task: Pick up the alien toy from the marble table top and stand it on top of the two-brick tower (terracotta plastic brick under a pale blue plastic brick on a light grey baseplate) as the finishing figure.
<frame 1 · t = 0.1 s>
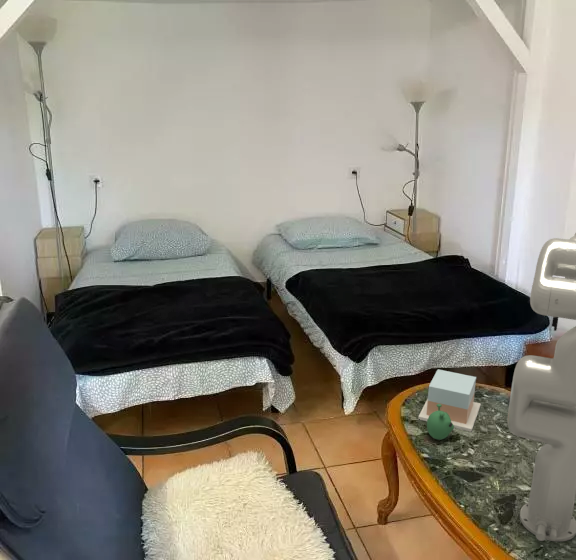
hand: (573, 332, 171), 31 cm above the table, fingers open, 9 cm apart
brick tower: (449, 412, 189), on the table
alien toy: (439, 438, 176), on the table
alarm clock: (521, 427, 181), on the table
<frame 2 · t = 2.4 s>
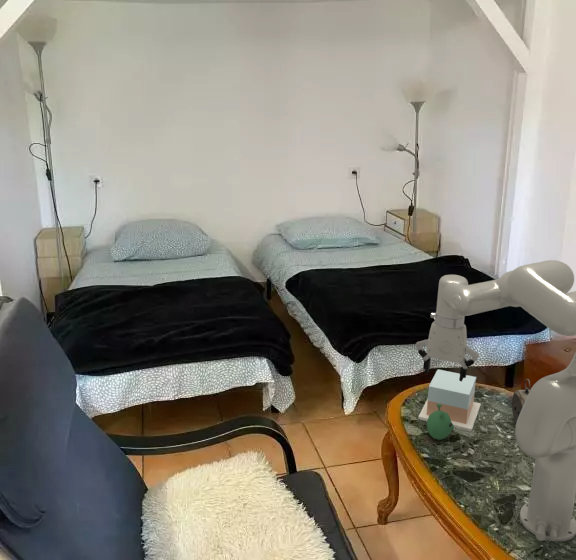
hand: (444, 375, 169), 20 cm above the table, fingers open, 9 cm apart
nothing on the table moved.
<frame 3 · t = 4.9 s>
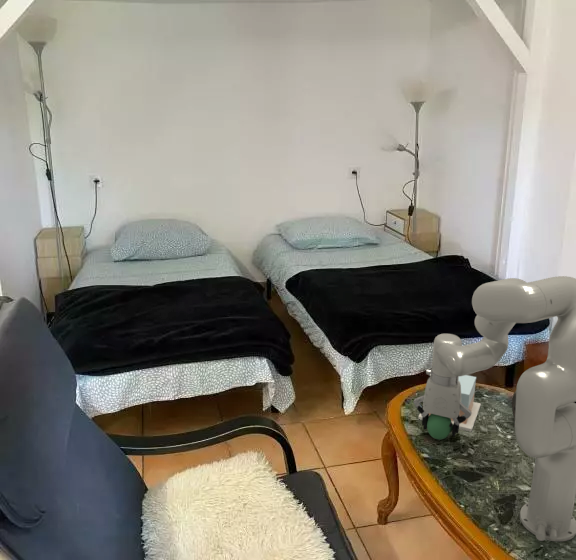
hand: (439, 430, 175), 2 cm above the table, fingers closed on alien toy, 7 cm apart
alien toy: (439, 438, 176), on the table, touching gripper
everything else where it was.
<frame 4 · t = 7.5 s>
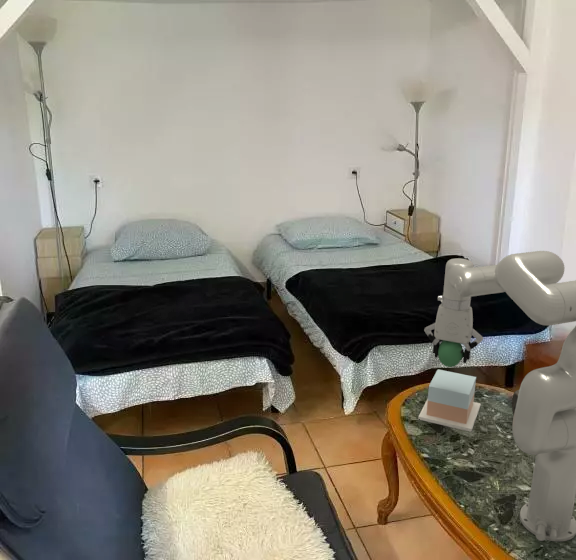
hand: (450, 358, 175), 22 cm above the table, fingers closed on alien toy, 7 cm apart
alien toy: (450, 366, 176), point 20 cm above the table, touching gripper
everything else where it was.
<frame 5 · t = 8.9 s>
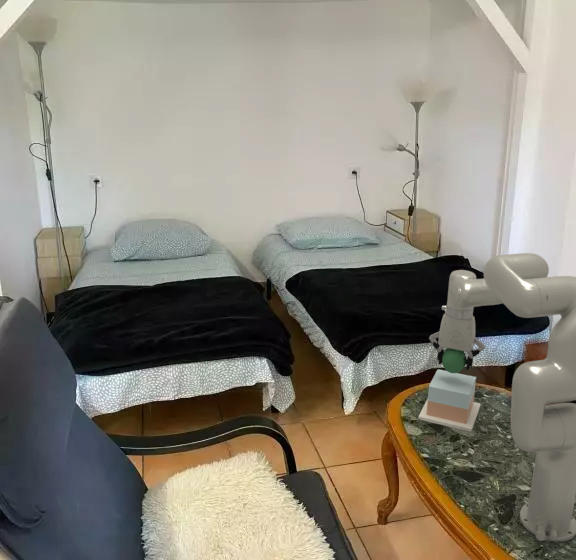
hand: (454, 365, 183), 17 cm above the table, fingers closed on alien toy, 7 cm apart
alien toy: (453, 372, 184), point 14 cm above the table, touching gripper
everything else where it was.
when the fingers open (15 cm above the table, at t = 10.2 s): alien toy drops 1 cm, resting on brick tower.
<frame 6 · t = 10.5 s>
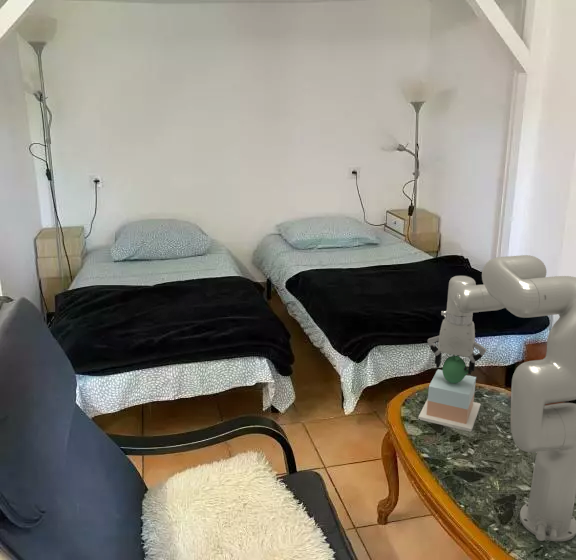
hand: (454, 369, 184), 15 cm above the table, fingers open, 9 cm apart
alien toy: (454, 382, 185), point 11 cm above the table, touching brick tower
everything else where it was.
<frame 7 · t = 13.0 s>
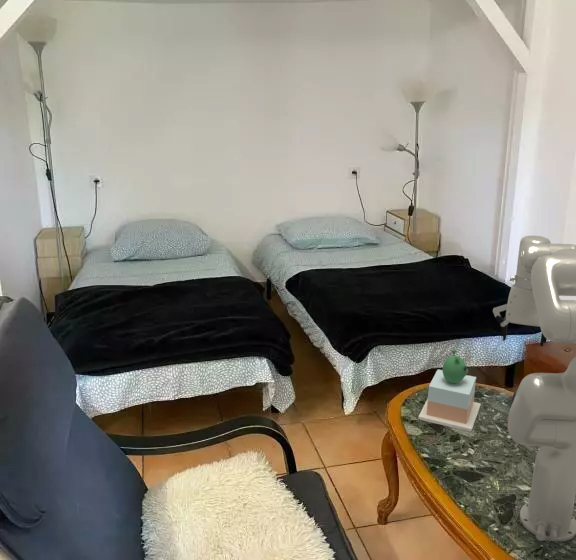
hand: (522, 341, 165), 31 cm above the table, fingers open, 9 cm apart
nothing on the table moved.
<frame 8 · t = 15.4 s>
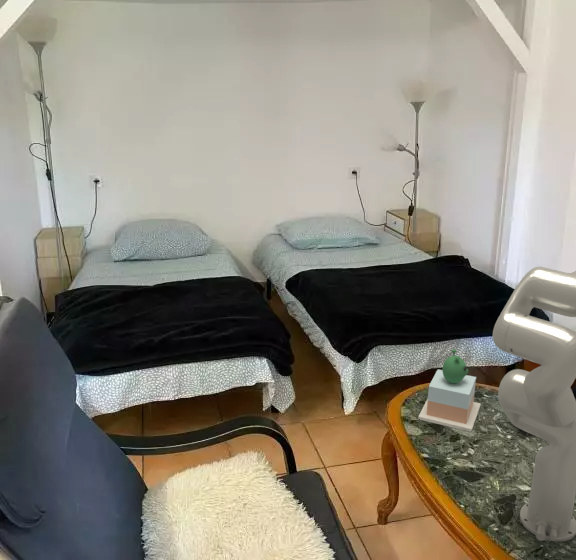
nothing on the table moved.
at the end: alien toy inside the target area on the brick tower (0.4 cm from its centre), point 10.8 cm above the brick tower's base; alien toy tilted 0°; the gripper is holding nothing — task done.
